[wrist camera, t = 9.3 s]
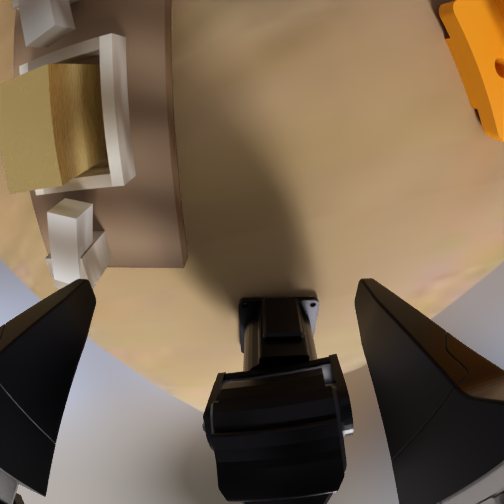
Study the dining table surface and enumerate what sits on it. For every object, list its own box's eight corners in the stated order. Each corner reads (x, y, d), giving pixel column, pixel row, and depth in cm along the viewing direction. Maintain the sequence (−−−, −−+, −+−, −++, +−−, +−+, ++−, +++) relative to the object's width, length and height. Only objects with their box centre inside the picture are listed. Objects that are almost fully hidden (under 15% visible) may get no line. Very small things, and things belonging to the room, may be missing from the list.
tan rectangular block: (54, 79, 14) (-6, 87, 9) (104, 65, 14) (48, 63, 9) (63, 162, 17) (9, 193, 12) (112, 155, 17) (62, 185, 12)
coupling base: (187, 256, 23) (171, 305, 18) (60, 256, 23) (27, 295, 18) (173, -51, 11) (148, -87, 6) (28, -2, 11) (-18, -9, 6)
